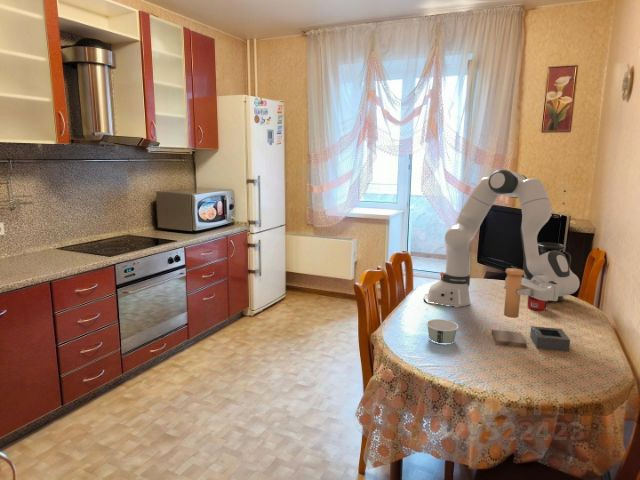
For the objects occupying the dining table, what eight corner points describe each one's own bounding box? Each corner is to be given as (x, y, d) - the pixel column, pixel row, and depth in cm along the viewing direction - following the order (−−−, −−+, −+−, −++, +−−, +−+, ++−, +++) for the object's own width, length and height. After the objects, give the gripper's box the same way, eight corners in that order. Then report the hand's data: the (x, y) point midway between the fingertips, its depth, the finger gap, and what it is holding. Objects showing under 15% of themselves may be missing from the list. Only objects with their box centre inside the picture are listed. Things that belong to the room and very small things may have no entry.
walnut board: (495, 344, 166) (495, 340, 166) (491, 333, 177) (491, 329, 176) (526, 347, 164) (526, 343, 163) (520, 335, 174) (520, 332, 174)
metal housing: (536, 348, 163) (537, 337, 162) (530, 336, 173) (531, 326, 173) (568, 351, 160) (570, 340, 159) (560, 339, 171) (561, 328, 170)
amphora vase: (515, 297, 222) (520, 244, 217) (531, 289, 237) (536, 238, 232) (561, 308, 207) (567, 250, 202) (575, 298, 222) (581, 244, 217)
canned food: (548, 311, 203) (551, 288, 201) (531, 311, 203) (534, 288, 201) (541, 305, 210) (543, 283, 208) (524, 305, 211) (526, 283, 208)
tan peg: (503, 317, 166) (507, 271, 163) (500, 311, 172) (504, 267, 169) (521, 318, 164) (525, 272, 161) (518, 313, 171) (522, 268, 167)
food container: (458, 348, 163) (460, 331, 161) (426, 345, 165) (426, 329, 164) (455, 335, 174) (457, 320, 173) (425, 333, 177) (426, 317, 175)
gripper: (522, 272, 179) (494, 274, 175) (562, 286, 160) (531, 289, 156) (521, 287, 180) (493, 289, 177) (560, 302, 161) (530, 305, 157)
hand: (511, 289), depth 166 cm, fingers closed on tan peg, 5 cm apart
